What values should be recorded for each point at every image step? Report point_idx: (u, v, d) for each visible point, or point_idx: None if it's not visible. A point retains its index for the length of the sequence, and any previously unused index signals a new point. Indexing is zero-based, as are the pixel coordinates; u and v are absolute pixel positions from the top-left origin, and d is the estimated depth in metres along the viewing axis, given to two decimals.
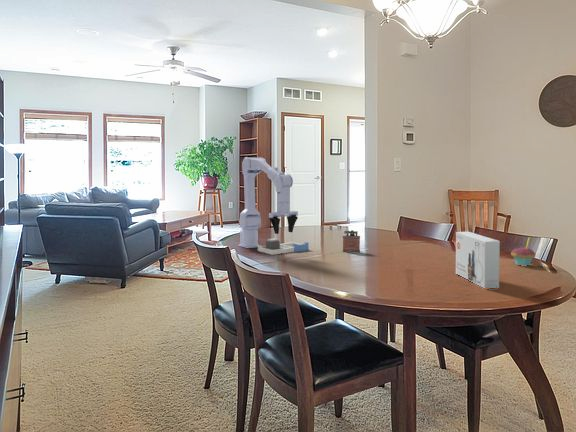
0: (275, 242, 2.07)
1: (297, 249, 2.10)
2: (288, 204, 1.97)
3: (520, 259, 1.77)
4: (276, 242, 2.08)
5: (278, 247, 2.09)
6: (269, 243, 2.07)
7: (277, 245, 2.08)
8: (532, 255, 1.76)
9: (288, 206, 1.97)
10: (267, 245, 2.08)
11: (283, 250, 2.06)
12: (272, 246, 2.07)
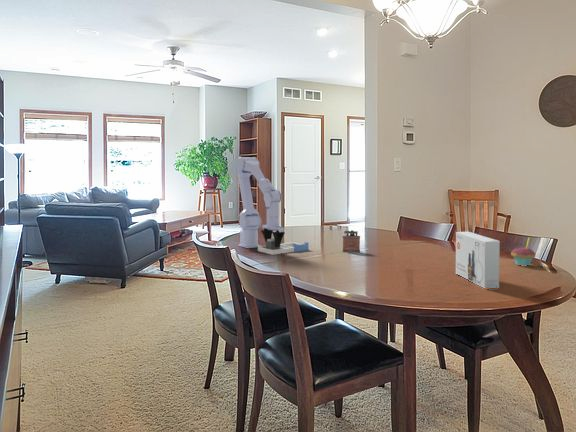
0: None
1: (297, 249, 2.10)
2: (268, 219, 2.06)
3: (520, 259, 1.77)
4: None
5: (278, 247, 2.09)
6: (269, 243, 2.07)
7: None
8: (532, 255, 1.76)
9: (268, 221, 2.06)
10: (267, 245, 2.08)
11: (283, 250, 2.06)
12: (272, 246, 2.07)
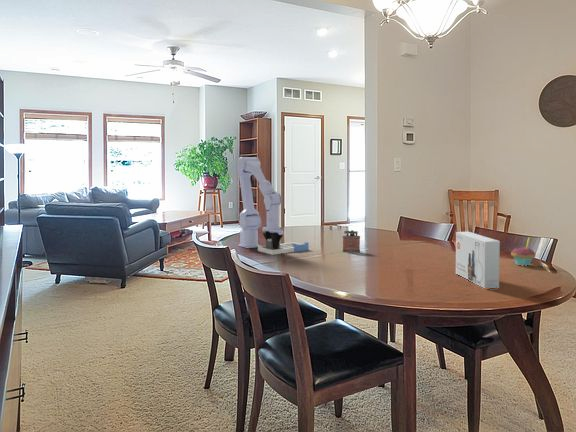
0: None
1: (297, 249, 2.10)
2: (268, 221, 2.06)
3: (520, 259, 1.77)
4: None
5: (278, 247, 2.09)
6: (269, 243, 2.07)
7: None
8: (532, 255, 1.76)
9: (268, 223, 2.06)
10: (267, 245, 2.08)
11: (283, 250, 2.06)
12: (272, 246, 2.07)
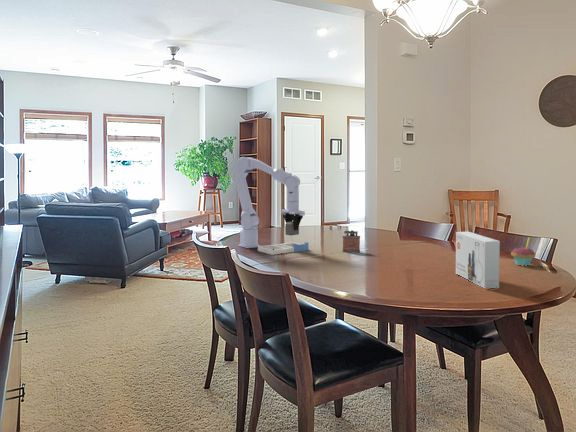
0: None
1: (297, 249, 2.10)
2: (289, 203, 2.12)
3: (520, 259, 1.77)
4: None
5: (297, 230, 2.15)
6: (289, 226, 2.12)
7: None
8: (532, 255, 1.76)
9: (289, 205, 2.12)
10: (287, 228, 2.14)
11: (283, 250, 2.06)
12: (292, 229, 2.12)
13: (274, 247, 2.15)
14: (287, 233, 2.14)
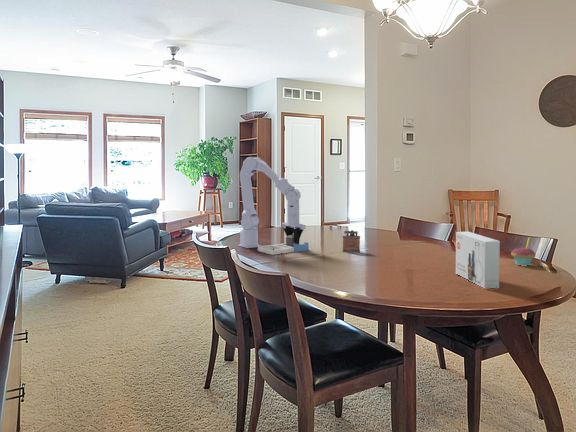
0: None
1: (297, 249, 2.10)
2: (290, 216, 2.13)
3: (520, 259, 1.77)
4: None
5: (298, 243, 2.16)
6: (290, 239, 2.13)
7: None
8: (532, 255, 1.76)
9: (290, 218, 2.13)
10: (287, 241, 2.15)
11: (283, 250, 2.06)
12: (293, 242, 2.13)
13: (274, 247, 2.15)
14: None
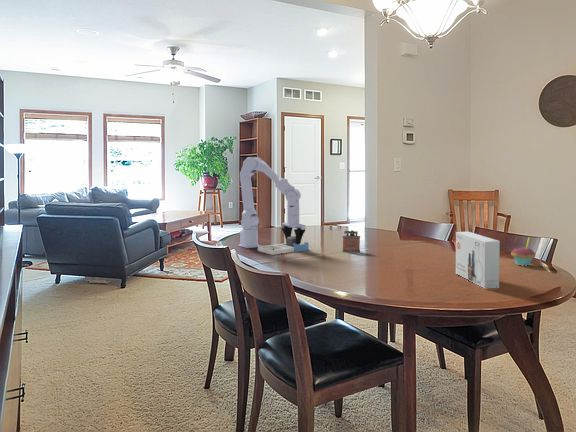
0: (295, 240, 2.14)
1: (297, 249, 2.10)
2: (290, 217, 2.13)
3: (520, 259, 1.77)
4: None
5: (298, 244, 2.16)
6: (290, 241, 2.14)
7: None
8: (532, 255, 1.76)
9: (290, 218, 2.13)
10: (287, 243, 2.15)
11: (283, 250, 2.06)
12: (293, 243, 2.14)
13: (274, 247, 2.15)
14: None
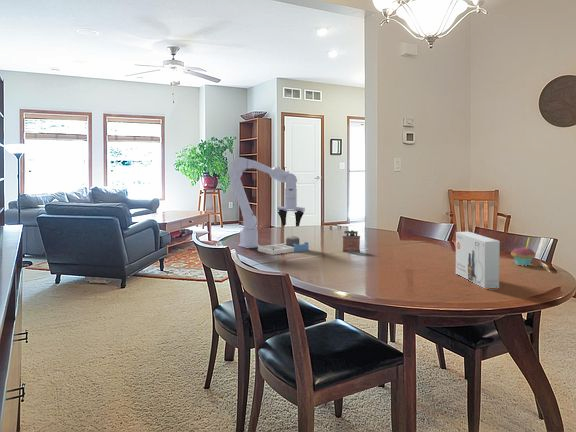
0: (295, 240, 2.15)
1: (297, 249, 2.10)
2: (289, 200, 2.18)
3: (520, 259, 1.77)
4: (296, 240, 2.15)
5: (298, 244, 2.16)
6: (290, 241, 2.14)
7: (297, 242, 2.15)
8: (532, 255, 1.76)
9: (289, 202, 2.18)
10: (287, 243, 2.15)
11: (283, 250, 2.06)
12: (293, 243, 2.14)
13: (274, 247, 2.15)
14: None
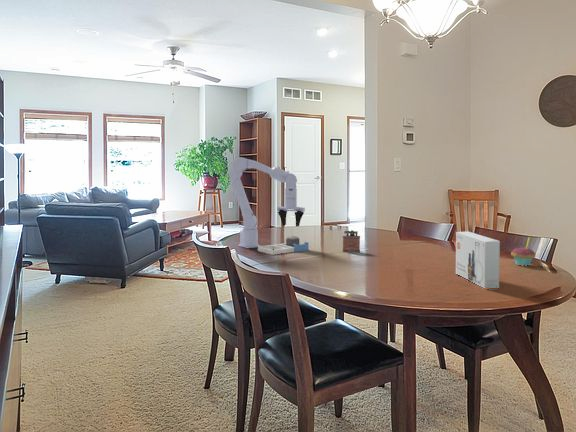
0: (295, 240, 2.14)
1: (297, 249, 2.10)
2: (289, 200, 2.18)
3: (520, 259, 1.77)
4: (296, 240, 2.15)
5: (298, 244, 2.16)
6: (290, 241, 2.13)
7: (297, 242, 2.15)
8: (532, 255, 1.76)
9: (289, 202, 2.18)
10: (287, 243, 2.15)
11: (283, 250, 2.06)
12: (293, 243, 2.14)
13: (274, 247, 2.15)
14: None
